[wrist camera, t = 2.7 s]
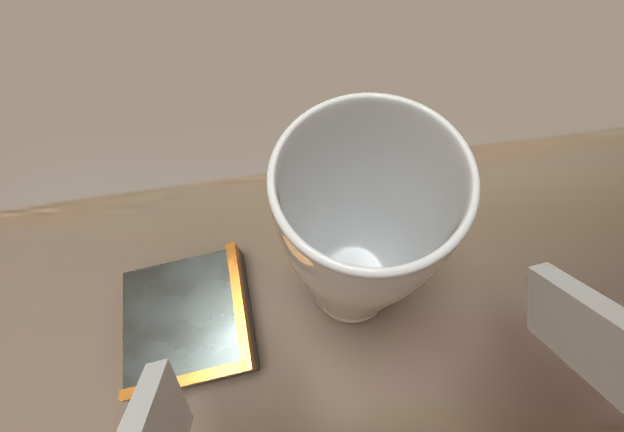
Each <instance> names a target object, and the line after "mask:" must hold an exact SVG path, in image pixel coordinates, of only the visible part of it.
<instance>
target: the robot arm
mask: <svg viewBox="0 0 624 432" xmlns="http://www.w3.org/2000/svg"><path fill="white" fill-rule="evenodd" d="M527 329H528V330H529V331H530V332H531V333H533V334H534V335H535V336H536V337H537V338H538V339H539V340H540V341H542V342H543V343H544V344H545V345H546V346H547V347H548V348H549V349H551V350H552V351H553V352H554V353H555V354H556V355H557V356H558V357H559V358H561V359H562V360H563V361H564V362H565V363H566V364H567V365H568V366H570V367H571V368H572V369H573V370H574V371H575V372H576V373H577V374H579V375H580V376H581V377H582V378H583V379H584V380H585V381H586V382H587V383H589V384H590V385H591V386H592V387H593V388H594V389H595V390H596V391H598V392H599V393H600V394H601V395H602V396H603V397H604V398H605V399H607V400H608V401H609V402H610V403H611V404H612V405H613V406H614V407H615V408H617V409H618V410H619V411H620V412H621V413H622V414H623V415H624V307H622V306H621V305H619V304H617V303H616V302H614V301H612V300H611V299H609V298H607V297H606V296H604V295H602V294H601V293H599V292H597V291H596V290H594V289H592V288H590V287H589V286H587V285H585V284H584V283H582V282H580V281H579V280H577V279H575V278H574V277H572V276H570V275H569V274H567V273H565V272H564V271H562V270H560V269H558V268H557V267H555V266H553V265H552V264H550V263H548V262H546V263H542V264H538V265H534V266H530V267H528V289H527ZM192 420H193V414H192V412H191V410H190V407H189V405H188V403H187V401H186V398H185V396H184V394H183V391H182V389H181V387H180V384H179V382H178V380H177V378H176V375H175V373H174V371H173V368H172V366H171V364H170V361H169V359H168V358H167V359H163V360H159V361H155V362H151V363H147V364H146V365H145V367H144V369H143V372H142V374H141V376H140V378H139V381H138V383H137V385H136V388H135V390H134V392H133V394H132V397H131V399H130V401H129V404H128V406H127V408H126V411H125V413H124V415H123V417H122V420H121V422H120V424H119V427H118V429H117V431H116V432H190V429H191V425H192Z"/></svg>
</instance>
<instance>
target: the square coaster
mask: <svg viewBox="0 0 624 432" xmlns="http://www.w3.org/2000/svg"><path fill="white" fill-rule="evenodd" d="M167 358H168V359H169V361H170V364H171V366H172V368H173V371H174V373H175V375H176V378H177V380H178V382H179V384H180V387H181V389H184V388H188V387H192V386H196V385H200V384H204V383H209V382H213V381H217V380H221V379H225V378H229V377H233V376H237V375H242V374H246V373H250V372H254V371H258V370H260V365H259V358H258V352H257V345H256V338H255V331H254V324H253V318H252V311H251V304H250V297H249V291H248V284H247V277H246V270H245V264H244V257H243V253H242V252H241V250H240V249H239V248H238V246H237V245H236V244H235V242H233V243H228V244H226V250H223V251H218V252H214V253H210V254H205V255H201V256H196V257H192V258H188V259H183V260H179V261H174V262H170V263H166V264H161V265H157V266H152V267H148V268H144V269H139V270H135V271H130V272H126V273H123V389H122V390H119V402H120V401H123V402H125V401H130V399H131V397H132V394H133V392H134V390H135V388H136V385H137V383H138V381H139V378H140V376H141V374H142V372H143V369H144V367H145V365H146V364H147V363H151V362H155V361H159V360H163V359H167Z"/></svg>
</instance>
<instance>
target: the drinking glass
mask: <svg viewBox="0 0 624 432" xmlns="http://www.w3.org/2000/svg"><path fill="white" fill-rule="evenodd" d="M267 194H268V200H269V204H270V207H271V211H272V215H273V219H274V223H275V227H276V230H277V233H278V236H279V239H280V241H281V244H282V246H283V249H284V251H285V253H286V255H287V257H288V259H289V261H290V263H291V265H292V266H293V268H294V270H295V271H296V273H297V274H298V276H299V277H300V278H301V280H302V281H303V282H304V284H305V285H306V286H307V288H308V289H309V290H310V291H311V293H312V294H313V296H314V299H315V301H316V302H317V304H318V306H319V307H320V308H321V309H322V310H323V311H324V312H325V313H326V314H327V315H328V316H330V317H331V318H333V319H335V320H338V321H341V322H345V323H359V322H363V321H366V320H368V319H370V318H372V317H374V316H375V315H377V314H378V313H379V312H380V311H381V310H382V309H384V308H386V307H388V306H390V305H391V304H393V303H395V302H397V301H399V300H401V299H402V298H404V297H406V296H407V295H409V294H410V293H412V292H413V291H415V290H416V289H417V288H419V287H420V286H421V285H422V284H424V283H425V282H426V281H427V280H428V279H429V278H430V277H431V276H432V275H433V274H434V273H435V272H436V271H437V270H438V269H439V268H440V267H441V266H442V265H443V264H444V262H445V261H446V260H447V259H448V257H449V256H450V255H451V254H452V252H453V251H454V250H455V249H456V247H457V246H458V245H459V243H460V242H461V241H462V240H463V238H464V237H465V236H466V234H467V232H468V231H469V229H470V227H471V225H472V223H473V221H474V219H475V216H476V213H477V210H478V205H479V200H480V177H479V171H478V168H477V164H476V161H475V158H474V156H473V153H472V151H471V150H470V148H469V146H468V144H467V143H466V141H465V140H464V138H463V137H462V135H461V134H460V133H459V132H458V131H457V129H456V128H454V126H453V125H452V124H450V123H449V122H448V121H447V120H446V119H445V118H443V117H442V116H441V115H439V114H438V113H437V112H435V111H434V110H432V109H430V108H428V107H427V106H425V105H422V104H420V103H418V102H416V101H413V100H410V99H407V98H404V97H400V96H396V95H391V94H385V93H354V94H348V95H343V96H339V97H336V98H332V99H329V100H327V101H324V102H322V103H320V104H318V105H316V106H314V107H312V108H310V109H309V110H307V111H306V112H304V113H303V114H302V115H300V116H299V117H298V118H297V119H296V120H294V121H293V122H292V123H291V125H289V127H288V128H287V129H286V130H285V131H284V133H283V134H282V135H281V137H280V138H279V140H278V142H277V143H276V145H275V148H274V150H273V152H272V155H271V158H270V161H269V165H268V171H267Z"/></svg>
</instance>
